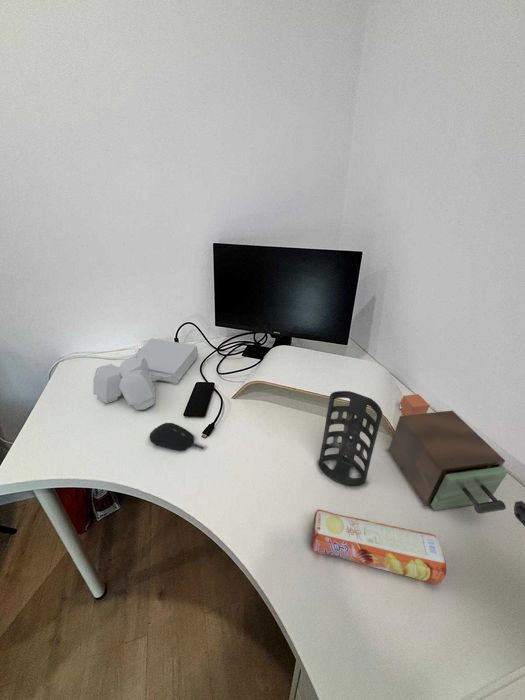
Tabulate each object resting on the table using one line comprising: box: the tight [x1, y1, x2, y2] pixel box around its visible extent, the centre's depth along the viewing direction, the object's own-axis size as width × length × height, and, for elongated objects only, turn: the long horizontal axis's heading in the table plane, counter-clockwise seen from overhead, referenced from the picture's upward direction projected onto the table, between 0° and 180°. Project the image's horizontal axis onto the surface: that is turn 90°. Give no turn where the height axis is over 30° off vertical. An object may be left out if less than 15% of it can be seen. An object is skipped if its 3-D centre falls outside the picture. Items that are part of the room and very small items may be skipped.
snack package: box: [310, 509, 447, 585], centre depth 51 cm, size 21×7×7 cm, turn 76°
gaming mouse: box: [149, 422, 204, 451], centre depth 74 cm, size 6×15×4 cm, turn 72°
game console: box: [92, 338, 199, 411], centre depth 95 cm, size 20×32×13 cm, turn 164°
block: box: [400, 393, 430, 416], centre depth 84 cm, size 5×5×5 cm
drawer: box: [430, 465, 509, 515], centre depth 61 cm, size 18×12×10 cm
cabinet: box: [388, 410, 506, 507], centre depth 65 cm, size 15×14×12 cm
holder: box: [318, 390, 384, 487], centre depth 64 cm, size 11×8×20 cm
